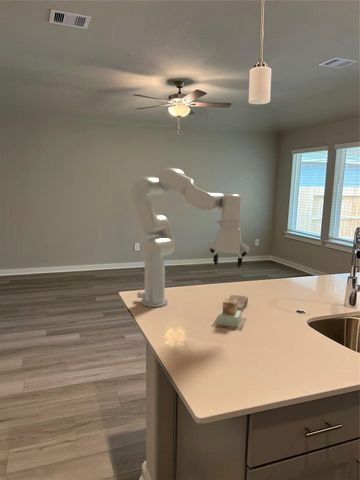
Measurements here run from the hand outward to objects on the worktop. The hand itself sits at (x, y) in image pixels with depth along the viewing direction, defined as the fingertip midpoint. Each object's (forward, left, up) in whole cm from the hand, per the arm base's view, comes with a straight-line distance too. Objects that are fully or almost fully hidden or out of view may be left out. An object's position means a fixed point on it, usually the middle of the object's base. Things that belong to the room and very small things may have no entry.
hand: (227, 265), depth 150 cm
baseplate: (+3, -5, -24) cm, 24 cm away
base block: (+3, -5, -23) cm, 23 cm away
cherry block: (+3, -5, -19) cm, 19 cm away
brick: (+2, +15, -24) cm, 29 cm away
